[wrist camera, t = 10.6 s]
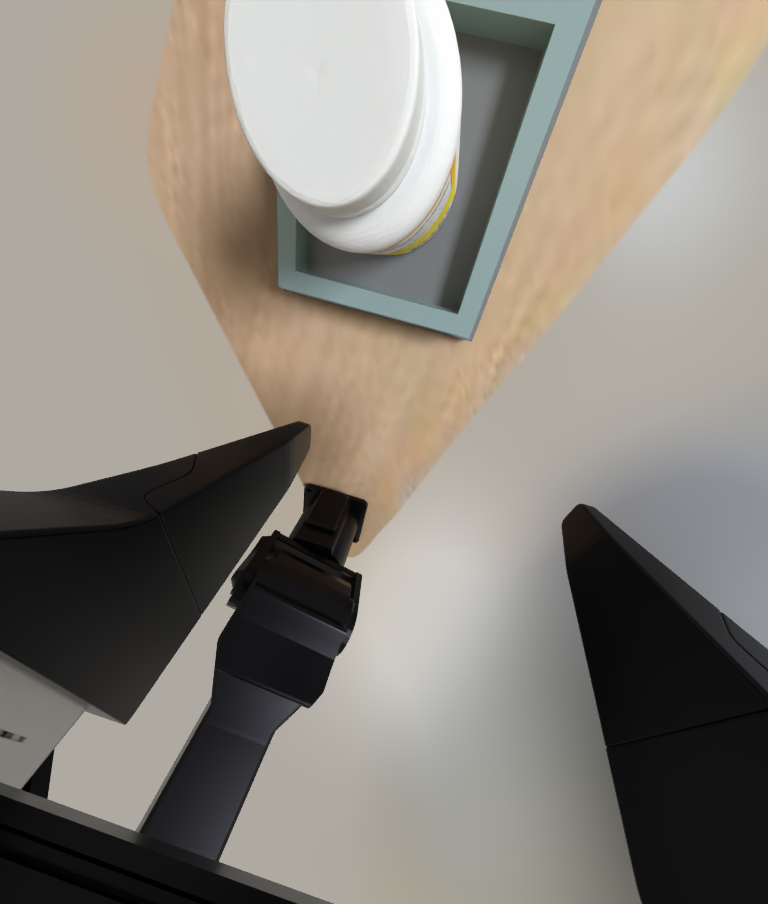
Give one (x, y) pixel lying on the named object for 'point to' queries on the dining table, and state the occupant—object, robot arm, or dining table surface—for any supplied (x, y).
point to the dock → (462, 173)
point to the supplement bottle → (351, 113)
